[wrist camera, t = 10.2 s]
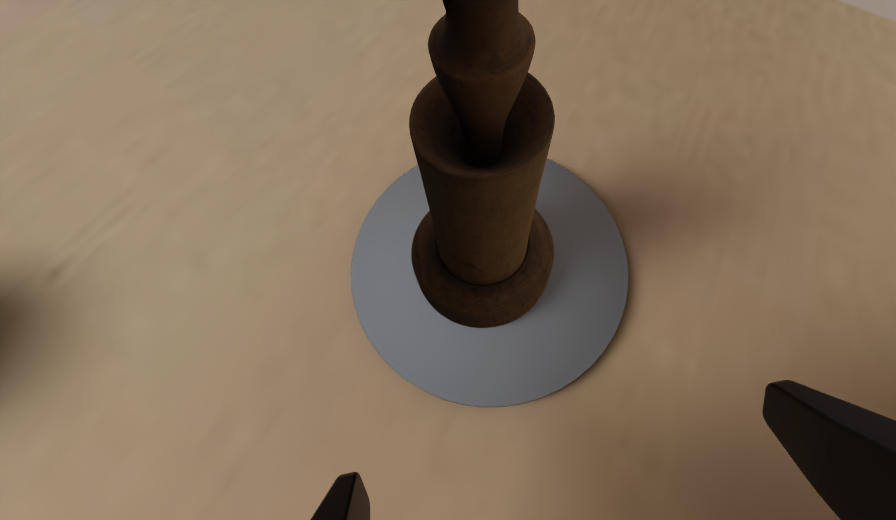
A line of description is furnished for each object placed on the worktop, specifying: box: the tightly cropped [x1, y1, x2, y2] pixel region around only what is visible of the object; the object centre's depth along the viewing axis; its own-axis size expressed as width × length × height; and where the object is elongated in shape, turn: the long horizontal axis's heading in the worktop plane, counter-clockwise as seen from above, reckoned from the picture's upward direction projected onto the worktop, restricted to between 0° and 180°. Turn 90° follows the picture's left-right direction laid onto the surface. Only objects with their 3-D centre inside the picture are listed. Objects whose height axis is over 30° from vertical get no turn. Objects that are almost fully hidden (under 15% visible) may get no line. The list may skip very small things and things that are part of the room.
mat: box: [351, 159, 628, 407], centre depth 22 cm, size 14×14×1 cm
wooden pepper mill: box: [409, 0, 555, 328], centre depth 13 cm, size 7×6×18 cm
